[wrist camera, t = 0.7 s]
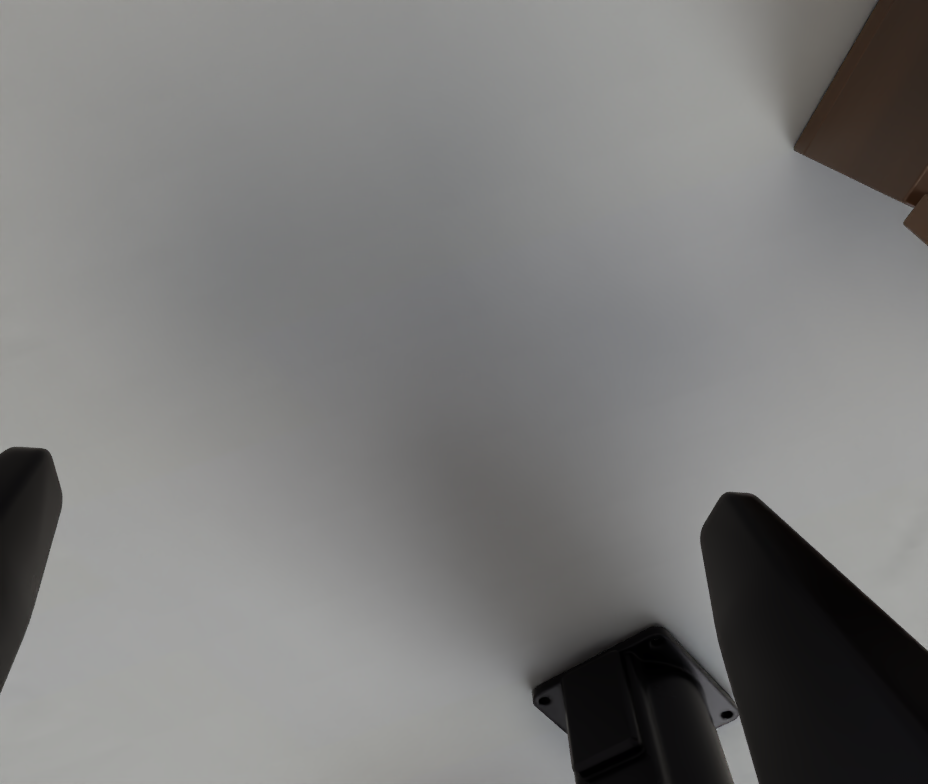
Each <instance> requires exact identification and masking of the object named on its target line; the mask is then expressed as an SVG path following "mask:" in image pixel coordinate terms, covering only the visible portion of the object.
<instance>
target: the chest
mask: <svg viewBox="0 0 928 784" xmlns="http://www.w3.org/2000/svg"><path fill="white" fill-rule="evenodd" d="M794 150H795V151H796V152H798V153H800V154H802V155H804V156H806V157H809V158H811V159H813V160H815V161H817V162H819V163H821V164H823V165H825V166H827V167H829V168H831V169H833V170H835V171H838V172H840V173H842V174H844V175H846V176H848V177H850V178H852V179H854V180H856V181H858V182H860V183H862V184H864V185H867V186H869V187H871V188H873V189H875V190H877V191H879V192H881V193H883V194H885V195H887V196H889V197H891V198H894V199H896V200H898V201H900V202H902V203H904V204H906V205H909V206H911V207H913V208H915V206H916V205H917V204H918V202H919V201H920V200H921V199H922V197H923V196H924V195H925V194H928V0H879V1H878V3H877V5H876V7H875V8H874V10H873V12H872V14H871V15H870V17H869V19H868V20H867V22H866V24H865V26H864V27H863V29H862V31H861V33H860V34H859V36H858V38H857V39H856V41H855V43H854V45H853V46H852V48H851V50H850V52H849V53H848V55H847V57H846V58H845V60H844V62H843V64H842V65H841V67H840V69H839V70H838V72H837V74H836V76H835V77H834V79H833V81H832V83H831V84H830V86H829V88H828V89H827V91H826V93H825V95H824V96H823V98H822V100H821V102H820V103H819V105H818V107H817V108H816V110H815V112H814V114H813V115H812V117H811V119H810V121H809V122H808V124H807V126H806V127H805V129H804V131H803V133H802V134H801V136H800V138H799V140H798V141H797V143H796V145H795V146H794Z"/></svg>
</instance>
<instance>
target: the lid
mask: <svg viewBox="0 0 928 784" xmlns="http://www.w3.org/2000/svg"><path fill="white" fill-rule="evenodd" d="M903 224H904V225H905V226H906V227H907V228H908V229H909V230H910V231H911V232H912V233H914V234H915V235H916V236H917V237H918V238H919V239H920V240H922V241H923V242H924V243H925V244H926V245H927V246H928V194H925V195H924V196H923V197H922V199H921V200H920V201H919V202H918V204H917V205H916V206H915V208H914V209H913V210H912V211H911V213H910V214H909V215H908V217H907V218H906V219H905V220H904V222H903Z"/></svg>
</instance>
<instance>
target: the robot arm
mask: <svg viewBox="0 0 928 784" xmlns="http://www.w3.org/2000/svg"><path fill="white" fill-rule="evenodd" d="M61 508H62V490H61V487H60V483H59V480H58V476H57V473H56V469H55V466H54V462H53V459H52V456H51V454H50V453H49V451H47V450H46V449H43V448H30V447H12V448H9V449H7V450H5V451H4V452H2V453H1V454H0V693H1V691H2V688H3V686H4V683H5V681H6V679H7V676H8V674H9V671H10V669H11V667H12V664H13V662H14V659H15V657H16V654H17V652H18V650H19V647H20V645H21V642H22V640H23V637H24V635H25V632H26V629H27V627H28V624H29V622H30V618H31V615H32V612H33V609H34V605H35V602H36V598H37V595H38V591H39V588H40V584H41V580H42V577H43V573H44V570H45V566H46V563H47V559H48V555H49V552H50V548H51V545H52V541H53V538H54V534H55V530H56V527H57V523H58V520H59V516H60V513H61ZM700 542H701V549H702V554H703V560H704V566H705V572H706V577H707V583H708V589H709V594H710V600H711V606H712V611H713V617H714V623H715V628H716V633H717V637H718V642H719V646H720V649H721V653H722V657H723V660H724V664H725V667H726V671H727V674H728V678H729V681H730V685H731V688H732V691H733V695H734V698H735V702H736V704H735V702H734V701H733V700H732V699H731V697H730V696H729V695H728V694H727V693H726V692H725V691H724V690H723V689H722V688H721V687H720V686H719V685H718V684H717V683H716V682H715V681H714V680H713V679H712V677H711V676H710V675H709V674H708V673H707V672H706V671H705V670H704V669H703V668H702V667H701V666H700V665H699V664H698V663H697V662H696V661H695V660H694V659H693V657H692V656H691V655H690V654H689V653H688V652H687V651H686V650H685V649H684V648H683V647H682V646H681V645H680V644H679V643H678V642H677V641H676V640H675V638H674V637H673V636H672V635H671V634H670V633H669V632H668V631H667V630H666V629H664V628H663V627H659V626H655V627H651V628H648V629H646V630H644V631H642V632H640V633H639V634H637V635H635V636H633V637H631V638H629V639H627V640H625V641H623V642H621V643H619V644H618V645H616V646H614V647H612V648H610V649H608V650H606V651H604V652H602V653H600V654H598V655H597V656H595V657H593V658H591V659H589V660H587V661H585V662H583V663H581V664H579V665H577V666H576V667H574V668H572V669H570V670H568V671H566V672H564V673H562V674H560V675H558V676H556V677H555V678H553V679H551V680H549V681H547V682H545V683H543V684H541V685H539V686H537V687H536V688H535V689H534V690H533V692H532V696H533V704H534V705H535V706H536V707H537V708H538V709H539V710H540V711H541V712H543V713H544V714H545V715H546V716H547V717H548V718H549V719H551V720H552V721H553V722H554V723H555V724H556V725H558V726H559V727H560V728H561V729H562V730H563V731H564V732H566V733H567V734H568V740H569V748H570V756H571V763H572V769H573V771H574V775H575V782H576V784H734V782H733V779H732V776H731V773H730V770H729V767H728V764H727V761H726V758H725V755H724V752H723V749H722V746H721V743H720V740H719V737H718V734H717V731H716V728H718V727H720V726H722V725H725V724H727V723H729V722H731V721H733V720H735V719H736V718H737V717H738V716H740V719H741V723H742V726H743V730H744V733H745V736H746V740H747V743H748V747H749V750H750V754H751V757H752V761H753V764H754V768H755V771H756V775H757V778H758V781H759V784H928V651H927V650H926V649H925V648H924V647H923V646H922V645H921V644H920V643H919V642H917V641H916V640H915V639H914V638H913V637H912V636H911V635H910V634H909V633H907V632H906V631H905V630H904V629H903V628H902V627H901V626H900V625H899V624H897V623H896V622H895V621H894V620H893V619H892V618H891V617H890V616H889V615H888V614H886V613H885V612H884V611H883V610H882V609H881V608H880V607H879V606H878V605H876V604H875V603H874V602H873V601H872V600H871V599H870V598H869V597H868V596H866V595H865V594H864V593H863V592H862V591H861V590H860V589H859V588H858V587H857V586H855V585H854V584H853V583H852V582H851V581H850V580H849V579H848V578H847V577H845V576H844V575H843V574H842V573H841V572H840V571H839V570H838V569H837V568H836V567H834V566H833V565H832V564H831V563H830V562H829V561H828V560H827V559H826V558H824V557H823V556H822V555H821V554H820V553H819V552H818V551H817V550H816V549H814V548H813V547H812V546H811V545H810V544H809V543H808V542H807V541H806V540H805V539H803V538H802V537H801V536H800V535H799V534H798V533H797V532H796V531H795V530H793V529H792V528H791V527H790V526H789V525H788V524H787V523H786V522H785V521H784V520H782V519H781V518H780V517H779V516H778V515H777V514H776V513H775V512H774V511H772V510H771V509H770V508H769V507H768V506H767V505H766V504H765V503H764V502H762V501H761V500H760V499H759V498H758V497H757V496H755V495H753V494H750V493H739V492H726V493H725V494H723V495H722V496H721V497H720V498H719V500H718V502H717V503H716V505H715V507H714V508H713V510H712V511H711V513H710V515H709V516H708V518H707V520H706V521H705V523H704V525H703V527H702V530H701V536H700ZM654 639H657V640H654ZM736 705H737V706H736Z"/></svg>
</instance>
